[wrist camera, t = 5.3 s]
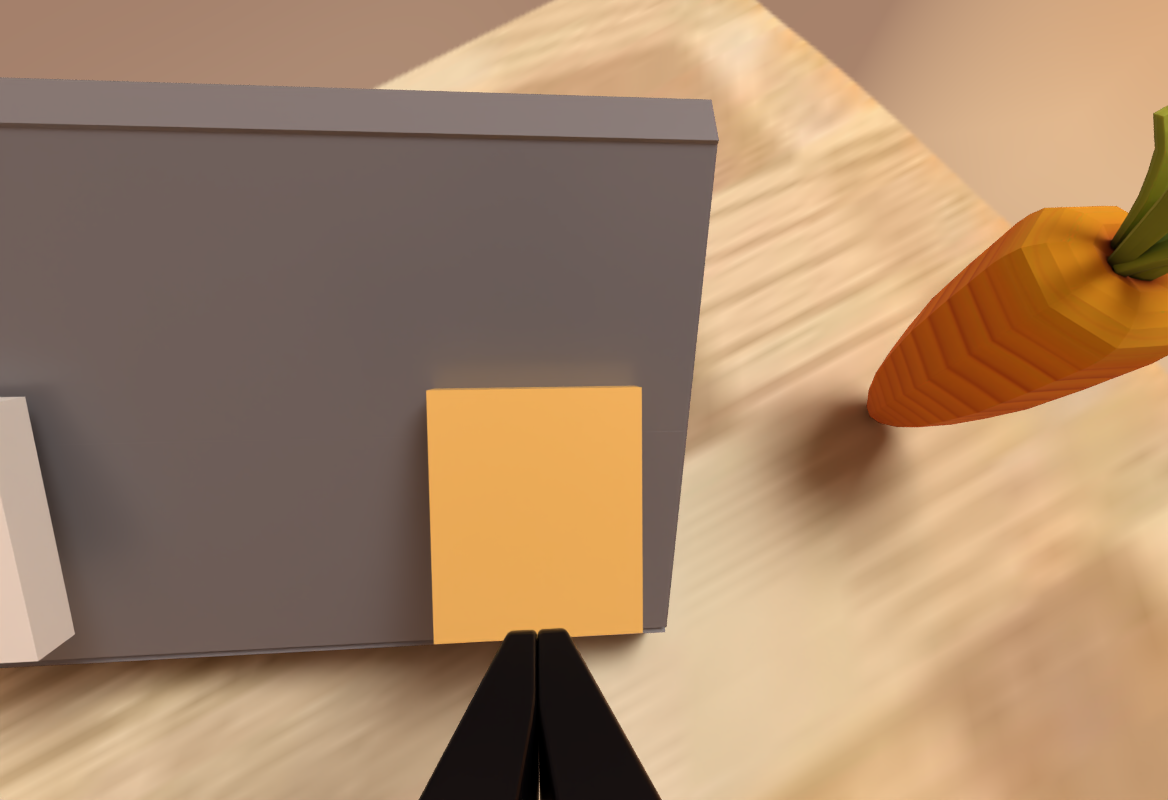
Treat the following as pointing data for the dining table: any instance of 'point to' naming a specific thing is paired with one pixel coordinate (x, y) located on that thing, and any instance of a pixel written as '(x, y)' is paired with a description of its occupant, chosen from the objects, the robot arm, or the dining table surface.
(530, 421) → the block
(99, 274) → the switch console
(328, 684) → the dining table surface
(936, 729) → the dining table surface
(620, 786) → the robot arm
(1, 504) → the block
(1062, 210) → the carrot
